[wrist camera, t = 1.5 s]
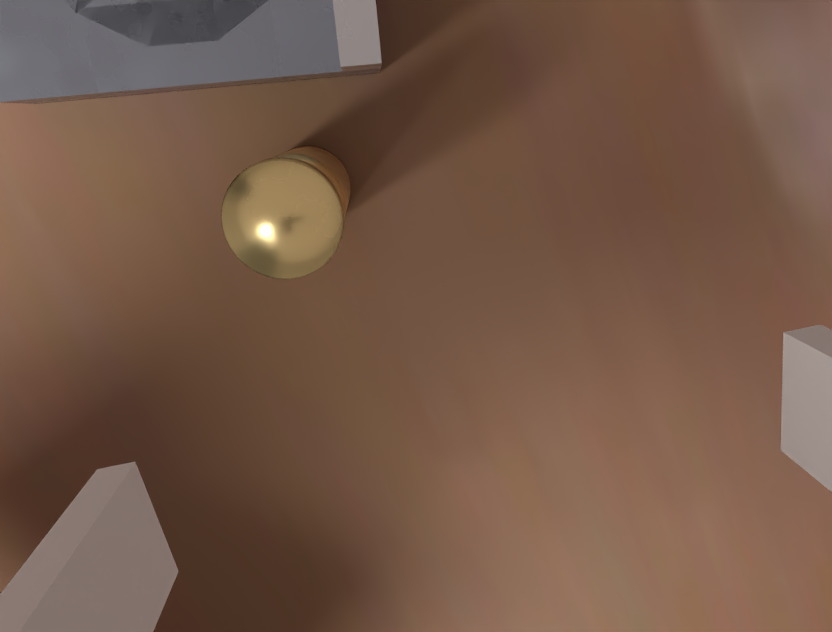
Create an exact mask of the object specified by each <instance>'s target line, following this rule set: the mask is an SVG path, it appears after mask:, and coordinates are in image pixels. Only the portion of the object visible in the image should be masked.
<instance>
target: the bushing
mask: <svg viewBox="0 0 832 632" xmlns="http://www.w3.org/2000/svg"><path fill="white" fill-rule="evenodd" d="M350 192H351V186H350V179H349V176H348V173H347V171H346V169H345V167H344V166H343V164H342V163H341V162H340V160H339V159H338V158H337V157H335V156H334V155H333V154H332V153H330V152H328V151H326V150H324V149H321V148H318V147H312V146H304V147H298V148H295V149H292V150H290V151H288V152H285V153H283V154H281V155H278V156H276V157H274V158H271V159H267V160H263V161H260V162H258V163H256V164H254V165H251V166H250V167H248V168H246V169H245V170H243V171H242V172H241V173H240V174H239V175H238V176H237V177H236V178H235V179H234V180H233V181H232V183H231V184H230V186H229V188H228V189H227V192H226V194H225V196H224V200H223V203H222V210H221V221H222V228H223V232H224V235H225V238H226V240H227V242H228V244H229V246H230V248H231V250H232V251H233V252H234V254H235V255H236V256H237V257H238V258H239V259H240V260H241V261H242V262H243V263H244V264H245V265H246V266H248V267H249V268H251V269H252V270H254V271H256V272H258V273H260V274H262V275H265V276H268V277H272V278H276V279H295V278H300V277H303V276H307V275H309V274H311V273H313V272H315V271H317V270H318V269H320V268H321V267H322V266H324V265H325V264H326V263H327V262H328V261H329V260H330V259H331V257H332V256H333V255H334V253H335V252H336V250H337V248H338V246H339V243H340V240H341V237H342V233H343V228H344V219H345V215H346V211H347V207H348V203H349V199H350Z"/></svg>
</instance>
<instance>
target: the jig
mask: <svg viewBox="0 0 832 632" xmlns="http://www.w3.org/2000/svg"><path fill="white" fill-rule="evenodd" d="M381 65H382V60H381V50H380V40H379V29H378V19H377V9H376V0H0V102H1V103H28V104H37V103H48V102H59V101H71V100H82V99H93V98H104V97H115V96H126V95H138V94H149V93H160V92H171V91H182V90H193V89H204V88H216V87H227V86H238V85H249V84H260V83H271V82H283V81H294V80H305V79H316V78H327V77H338V76H350V75H361V74H372V73H380V69H381Z"/></svg>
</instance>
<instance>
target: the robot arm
mask: <svg viewBox="0 0 832 632" xmlns="http://www.w3.org/2000/svg"><path fill="white" fill-rule="evenodd" d="M781 451H782V452H784V453H785V454H786V455H787V456H788V457H790V458H791V459H792V460H793V461H794V462H796V463H797V464H798V465H799V466H801V467H802V468H803V469H804V470H805V471H807V472H808V473H809V474H810V475H812V476H813V477H814V478H815V479H816V480H818V481H819V482H820V483H821V484H823V485H824V486H825V487H826V488H827V489H829V490H830V491H831V492H832V330H831V329H829V328H827V327H825V326H823V325H817V326H812V327H807V328H802V329H797V330H792V331H787V332H783V375H782V423H781ZM178 572H179V571H178V568H177V566H176V563H175V561H174V558H173V556H172V553H171V551H170V548H169V546H168V543H167V541H166V538H165V536H164V533H163V531H162V528H161V525H160V523H159V520H158V518H157V515H156V513H155V510H154V508H153V505H152V503H151V500H150V498H149V495H148V493H147V490H146V488H145V485H144V482H143V480H142V477H141V475H140V472H139V470H138V467H137V465H136V462H130V463H125V464H120V465H115V466H110V467H105V468H100V469H97V470H96V471H95V473H94V474H93V475H92V476H91V478H90V479H89V480H88V482H87V483H86V484H85V485H84V487H83V488H82V489H81V491H80V492H79V493H78V494H77V496H76V497H75V498H74V500H73V501H72V502H71V504H70V505H69V506H68V507H67V509H66V510H65V511H64V513H63V514H62V515H61V516H60V518H59V519H58V520H57V522H56V523H55V524H54V525H53V527H52V528H51V529H50V531H49V532H48V533H47V535H46V536H45V537H44V538H43V540H42V541H41V542H40V544H39V545H38V546H37V547H36V549H35V550H34V551H33V553H32V554H31V555H30V556H29V558H28V559H27V560H26V562H25V563H24V564H23V566H22V567H21V568H20V569H19V571H18V572H17V573H16V575H15V576H14V577H13V578H12V580H11V581H10V582H9V584H8V585H7V586H6V587H5V589H4V590H3V591H2V593H1V594H0V632H153V631H154V629H155V626H156V624H157V622H158V619H159V617H160V614H161V612H162V610H163V607H164V605H165V603H166V600H167V598H168V596H169V593H170V591H171V588H172V586H173V584H174V581H175V579H176V577H177V574H178Z"/></svg>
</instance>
